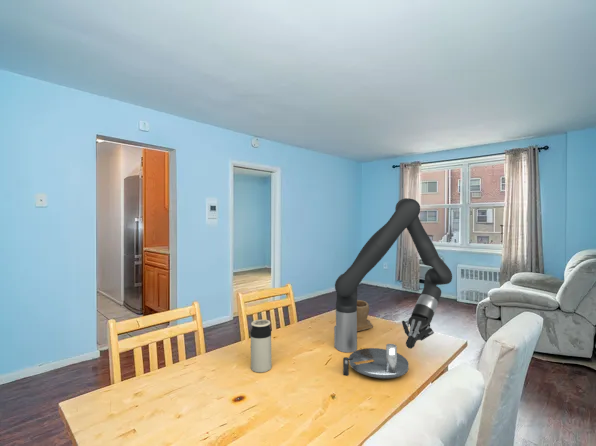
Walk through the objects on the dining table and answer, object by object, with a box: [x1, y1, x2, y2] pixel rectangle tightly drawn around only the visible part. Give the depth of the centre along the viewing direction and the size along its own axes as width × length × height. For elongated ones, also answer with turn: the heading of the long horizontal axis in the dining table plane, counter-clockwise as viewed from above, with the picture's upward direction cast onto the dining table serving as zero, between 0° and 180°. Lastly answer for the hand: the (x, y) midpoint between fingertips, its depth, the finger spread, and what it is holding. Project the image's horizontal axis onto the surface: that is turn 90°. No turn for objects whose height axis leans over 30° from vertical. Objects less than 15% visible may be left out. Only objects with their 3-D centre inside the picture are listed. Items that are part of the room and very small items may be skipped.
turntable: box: [348, 343, 409, 379], centre depth 122 cm, size 22×22×10 cm
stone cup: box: [357, 299, 374, 332], centre depth 166 cm, size 15×12×15 cm
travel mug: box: [250, 319, 273, 373], centre depth 124 cm, size 8×8×18 cm
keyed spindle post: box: [342, 356, 353, 377], centre depth 120 cm, size 13×19×6 cm, turn 131°
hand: (408, 347), depth 120 cm, fingers closed
